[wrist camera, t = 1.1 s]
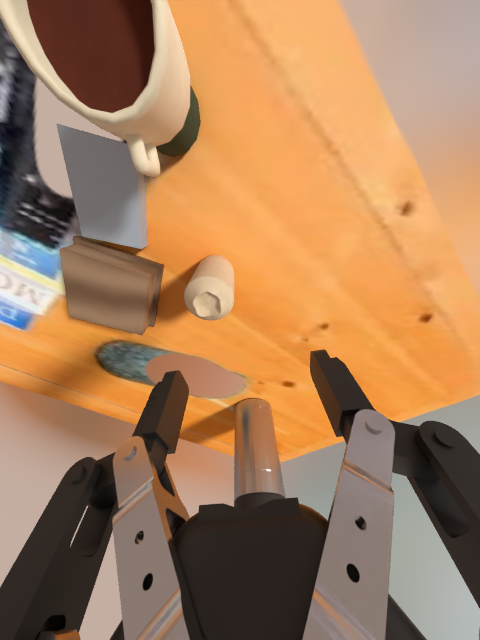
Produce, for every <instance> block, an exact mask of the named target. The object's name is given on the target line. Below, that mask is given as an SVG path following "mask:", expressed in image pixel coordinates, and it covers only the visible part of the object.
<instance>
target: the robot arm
mask: <svg viewBox="0 0 480 640" xmlns="http://www.w3.org/2000/svg"><path fill="white" fill-rule="evenodd" d="M310 372H311V377H312V380H313V382H314V384H315V387H316V389H317V392H318V394H319V396H320V399H321V401H322V404H323V406H324V408H325V411H326V413H327V416H328V418H329V420H330V423H331V425H332V428H333V430H334V432H335V435H336V437H341V436H343V437H344V439H345V441H346V444H347V445H346V449H345V454H344V458H343V462H342V466H341V470H340V474H339V478H338V482H337V487H336V490H335V494H334V498H333V502H332V506H331V510H330V514H329V518H328V521H327V520H326V519H325V518H324V517H323V516H322V515H320V514H319V513H318V512H316V511H315V510H313V509H311V508H309V507H307V506H305V505H302V504H299V503H298V498H287V499H286V497H285V491H284V485H283V479H282V473H281V467H280V461H279V455H278V449H277V442H276V436H275V430H274V424H273V417H272V411H271V406H270V404H269V403H268V402H266V401H264V400H261V399H247V400H243V401H241V402H239V403H238V404H237V405H236V407H235V455H234V464H235V465H234V466H235V467H234V470H235V472H234V482H235V483H234V507H232V506H229V505H226V504H210V505H200V506H199V513H197V514H195V515H194V516H192V517H191V518H189V515H188V513H187V510H186V508H185V507H184V505H183V503H182V502H181V500H180V498H179V496H178V493H177V491H176V488H175V485H174V482H173V480H172V477H171V474H170V471H169V469H168V466H167V463H166V462H165V460H166V456H167V454H171V453H175V450H176V446H177V441H178V437H179V433H180V429H181V425H182V421H183V416H184V412H185V408H186V404H187V400H188V395H189V388H188V385H187V383H186V381H185V379H184V377H183V376H182V374H181V372H180V371H171V372H166V373H165V375H164V377H163V380H162V382H158V383H157V385H156V386H155V387H154V388H153V390H152V392H151V394H150V396H149V400H148V401H147V403H146V407H145V408H144V410H143V412H142V415H141V417H140V419H139V422H138V424H137V427H136V429H135V431H134V433H133V435H132V437H131V438H129V439H127V440H126V441H125V442H123V444H121V446H120V447H119V448H118V449H117V451H116V452H115V453H113V454H110V455H108V456H106V457H104V458H102V459H100V460H97V461H96V460H95V459H93V458H91V457H86V458H83V459H81V460H79V461H78V462H76V463H75V464H74V465H73V466H72V467H71V468H70V469H69V470H68V471H67V473H66V474H65V476H64V477H63V479H62V481H61V482H60V484H59V486H58V488H57V489H56V491H55V493H54V494H53V496H52V498H51V500H50V501H49V503H48V505H47V507H46V508H45V510H44V512H43V514H42V516H41V517H40V519H39V521H38V522H37V524H36V526H35V528H34V529H33V531H32V533H31V535H30V537H29V538H28V540H27V542H26V543H25V545H24V547H23V549H22V551H21V552H20V554H19V556H18V557H17V559H16V561H15V563H14V564H13V566H12V568H11V570H10V571H9V573H8V575H7V577H6V578H5V580H4V582H3V584H2V586H1V587H0V640H80V636H79V630H80V627H81V624H82V621H83V618H84V615H85V612H86V609H87V606H88V602H89V600H90V597H91V594H92V590H93V588H94V585H95V582H96V579H97V576H98V573H99V570H100V567H101V563H102V561H103V557H104V554H105V552H106V549H107V546H108V542H109V540H110V537H111V533H112V531H113V534H114V544H115V553H116V563H117V572H118V581H119V591H120V599H121V609H122V621H121V622H120V624H119V625H118V627H117V629H116V630H115V632H114V634H113V635H112V637H111V639H110V640H426V638H425V637H424V636H423V635H422V634H421V632H420V631H419V630H418V629H417V627H416V626H415V625H414V624H413V623H412V621H411V620H410V619H409V618H408V617H407V615H406V614H405V613H404V612H403V611H402V609H401V608H400V607H399V606H398V604H397V603H396V602H395V601H394V600H393V598H392V597H391V596H390V595H389V593H388V588H389V573H390V571H389V570H390V557H391V542H392V528H393V513H394V493H393V490H392V488H391V478H392V472H393V473H397V474H401V475H404V476H407V478H408V480H409V481H410V484H411V485H412V487H413V489H414V491H415V493H416V494H417V496H418V498H419V500H420V502H421V503H422V505H423V507H424V509H425V511H426V512H427V514H428V516H429V518H430V520H431V521H432V523H433V525H434V527H435V529H436V530H437V532H438V534H439V536H440V538H441V539H442V541H443V543H444V545H445V547H446V549H447V550H448V552H449V554H450V556H451V558H452V559H453V561H454V563H455V565H456V566H457V568H458V570H459V572H460V574H461V575H462V577H463V579H464V581H465V583H466V585H467V586H468V588H469V590H470V592H471V593H472V595H473V597H474V599H475V601H476V603H477V604H478V606H479V608H480V454H479V453H478V452H477V451H476V450H475V449H474V448H473V447H472V445H471V444H470V443H469V442H468V441H467V440H466V439H465V438H464V437H463V436H462V435H461V434H460V433H459V432H458V431H456V430H455V429H453V428H452V427H450V426H448V425H446V424H443V423H440V422H436V421H426V422H424V423H422V424H421V425H420V426H414V425H409V424H404V423H399V422H395V421H392V420H389V419H387V418H386V417H385V416H384V415H382V414H380V413H379V412H377V411H376V410H375V409H374V408H373V406H372V405H371V403H370V402H369V400H368V399H367V397H366V396H365V394H364V393H363V391H362V390H361V388H360V386H359V385H358V383H357V382H356V380H354V377H353V376H352V374H351V373H350V371H349V370H348V368H347V366H346V365H345V363H343V362H342V361H341V360H339V359H338V358H337V357H335V358H330V357H329V355H328V353H327V352H326V350H317V351H311V355H310ZM86 506H88V508H87V511H86V513H85V515H84V518H83V520H82V522H81V524H80V527H79V529H78V531H77V533H76V536H75V538H74V540H73V543H72V545H71V547H70V544H71V541H72V538H73V536H74V533H75V531H76V529H77V527H78V524H79V522H80V520H81V518H82V515H83V513H84V511H85V509H86ZM479 640H480V629H479Z"/></svg>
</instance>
